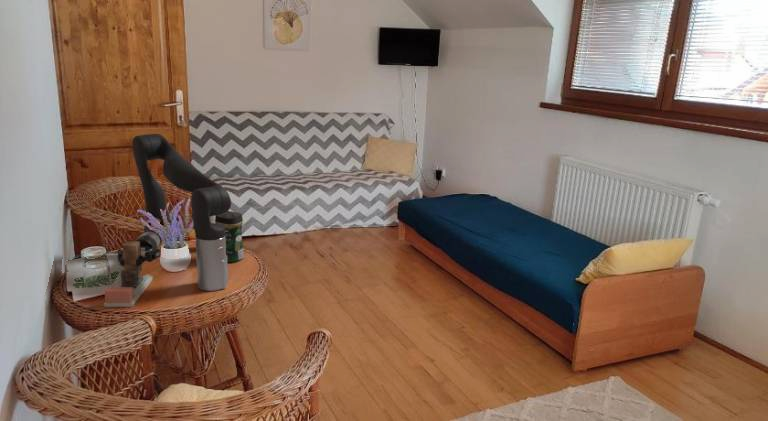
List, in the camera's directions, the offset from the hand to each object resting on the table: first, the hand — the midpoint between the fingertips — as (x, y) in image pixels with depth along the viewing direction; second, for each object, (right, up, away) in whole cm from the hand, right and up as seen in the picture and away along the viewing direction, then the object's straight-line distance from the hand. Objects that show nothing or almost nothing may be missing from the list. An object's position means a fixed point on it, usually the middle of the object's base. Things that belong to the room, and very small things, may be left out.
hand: (129, 263), depth 173 cm
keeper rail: (0, -9, 0) cm, 9 cm away
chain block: (-1, -7, +4) cm, 8 cm away
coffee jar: (+23, -2, +33) cm, 40 cm away
